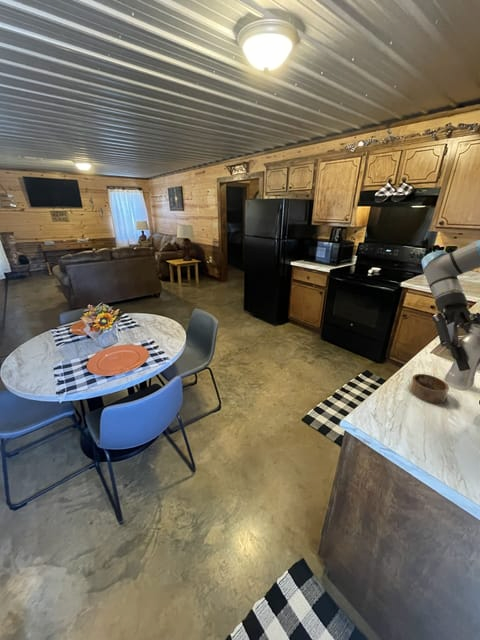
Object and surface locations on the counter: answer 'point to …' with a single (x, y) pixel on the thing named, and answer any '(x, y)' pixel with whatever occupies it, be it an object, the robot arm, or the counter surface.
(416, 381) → the holder
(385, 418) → the counter surface
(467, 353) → the plastic bottle
